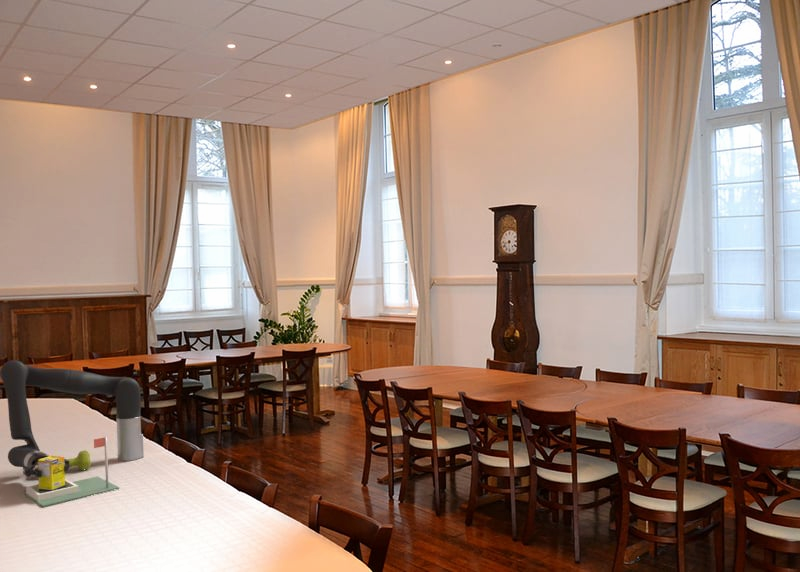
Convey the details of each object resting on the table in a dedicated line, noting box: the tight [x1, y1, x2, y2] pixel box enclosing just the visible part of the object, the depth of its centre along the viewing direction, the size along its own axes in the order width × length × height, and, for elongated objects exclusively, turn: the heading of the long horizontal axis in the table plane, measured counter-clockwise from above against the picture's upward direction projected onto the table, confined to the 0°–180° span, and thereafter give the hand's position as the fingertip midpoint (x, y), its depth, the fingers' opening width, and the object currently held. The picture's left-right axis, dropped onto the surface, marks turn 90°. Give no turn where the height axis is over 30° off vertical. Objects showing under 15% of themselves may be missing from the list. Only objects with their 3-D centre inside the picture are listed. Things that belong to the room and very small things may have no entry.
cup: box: [23, 436, 120, 508], centre depth 238 cm, size 25×20×19 cm
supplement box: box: [38, 455, 66, 492], centre depth 236 cm, size 6×6×11 cm
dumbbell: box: [65, 450, 91, 471], centre depth 262 cm, size 16×8×7 cm, turn 126°
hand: (53, 471), depth 234 cm, fingers closed on supplement box, 8 cm apart
